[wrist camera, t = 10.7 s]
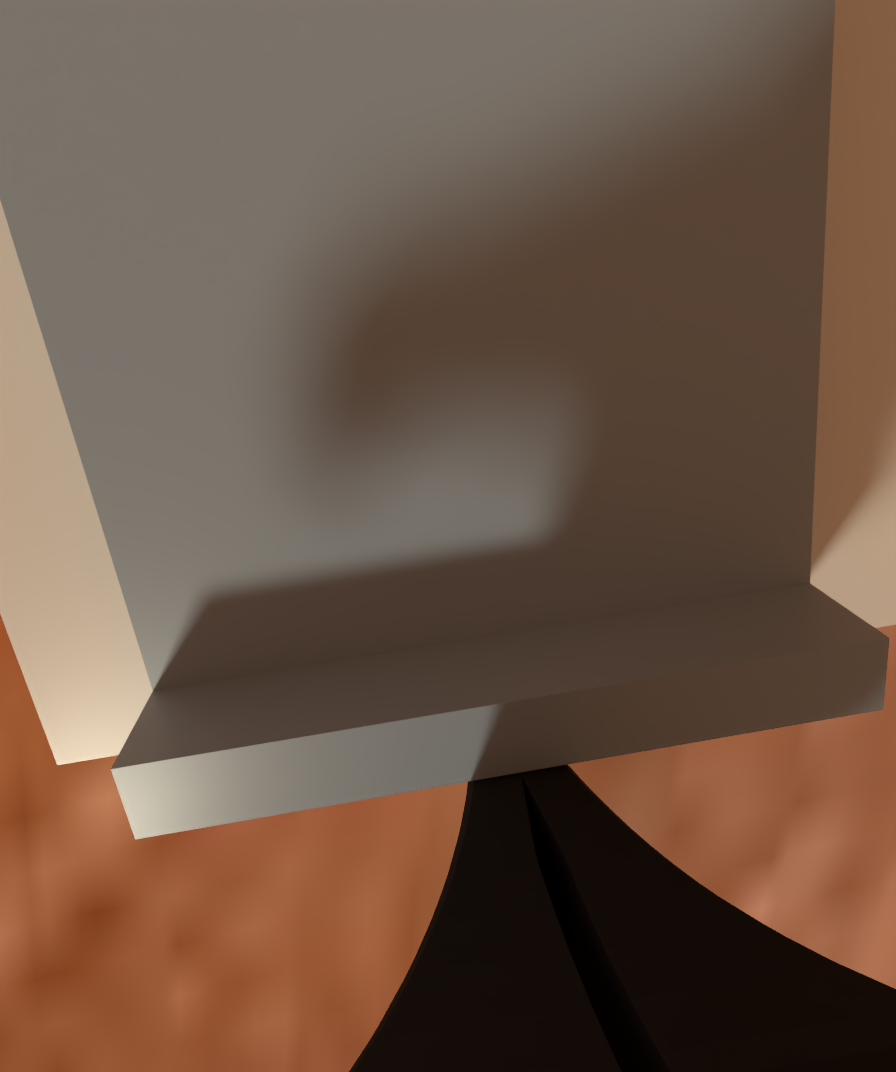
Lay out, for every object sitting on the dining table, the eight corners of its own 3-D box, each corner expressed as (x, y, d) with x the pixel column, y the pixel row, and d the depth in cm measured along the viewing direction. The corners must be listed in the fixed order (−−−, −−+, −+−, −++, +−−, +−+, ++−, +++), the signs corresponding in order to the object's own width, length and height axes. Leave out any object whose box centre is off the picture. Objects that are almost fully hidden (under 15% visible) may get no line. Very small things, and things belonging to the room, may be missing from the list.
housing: (145, 629, 18) (57, 765, 13) (-142, -317, 12) (-515, -750, 7) (757, 531, 19) (898, 624, 14) (772, -405, 13) (1033, -851, 8)
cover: (183, 725, 13) (135, 839, 10) (-38, -12, 9) (-203, -131, 7) (782, 625, 13) (883, 709, 11) (805, -110, 10) (966, -256, 7)
